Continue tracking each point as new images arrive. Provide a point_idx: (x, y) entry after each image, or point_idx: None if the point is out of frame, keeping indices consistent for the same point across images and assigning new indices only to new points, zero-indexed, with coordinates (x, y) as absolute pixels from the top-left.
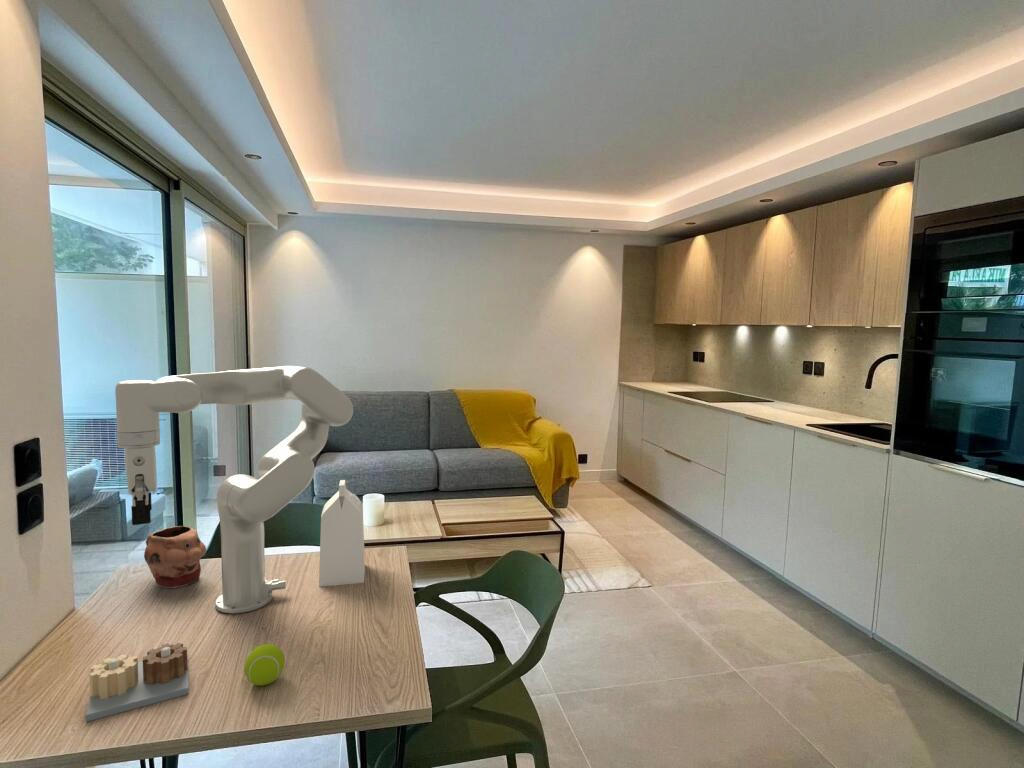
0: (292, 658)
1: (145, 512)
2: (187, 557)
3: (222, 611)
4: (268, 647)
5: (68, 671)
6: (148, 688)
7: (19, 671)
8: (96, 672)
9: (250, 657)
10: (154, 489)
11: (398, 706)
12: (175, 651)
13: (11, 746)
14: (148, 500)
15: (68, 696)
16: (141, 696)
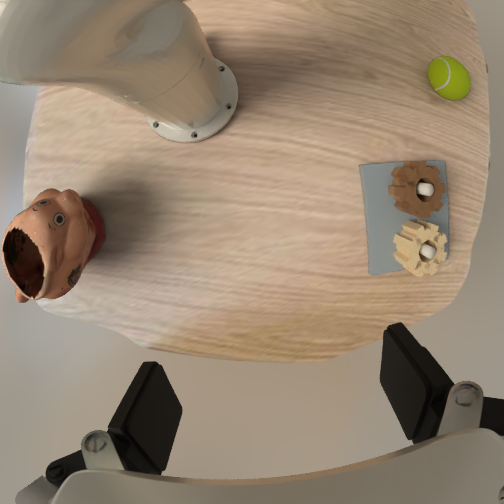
0: (398, 46)
1: (440, 366)
2: (79, 214)
3: (224, 125)
4: (463, 69)
5: (335, 310)
6: None
7: (309, 358)
8: (433, 267)
9: (466, 90)
10: (498, 437)
11: (471, 14)
12: (425, 176)
13: (444, 306)
14: (145, 406)
15: (393, 290)
16: (442, 209)
